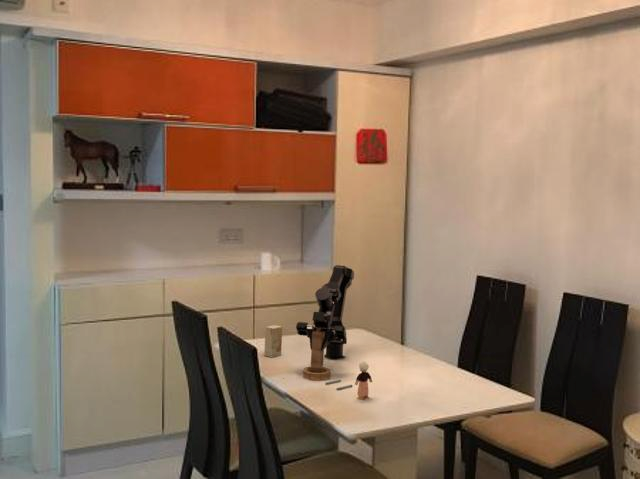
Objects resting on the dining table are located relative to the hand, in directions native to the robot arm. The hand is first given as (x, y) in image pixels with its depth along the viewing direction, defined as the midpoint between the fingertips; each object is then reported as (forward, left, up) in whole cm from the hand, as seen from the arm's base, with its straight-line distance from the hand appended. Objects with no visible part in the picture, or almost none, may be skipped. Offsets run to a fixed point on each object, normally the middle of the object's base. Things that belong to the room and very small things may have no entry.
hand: (316, 349), depth 260 cm
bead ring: (-1, -1, -11) cm, 11 cm away
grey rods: (-1, +12, -11) cm, 16 cm away
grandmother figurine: (+2, +27, -11) cm, 29 cm away
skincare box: (-5, -34, -11) cm, 36 cm away
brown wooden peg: (-1, -1, -7) cm, 7 cm away
